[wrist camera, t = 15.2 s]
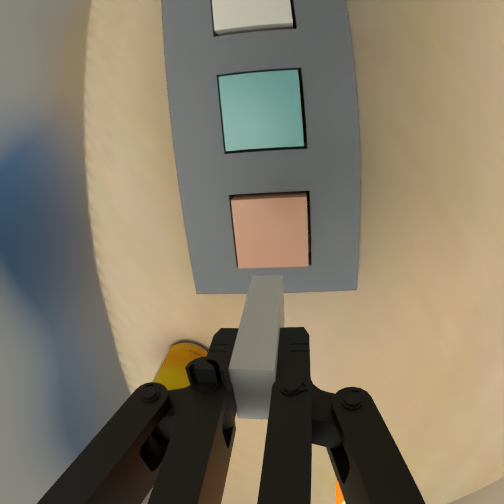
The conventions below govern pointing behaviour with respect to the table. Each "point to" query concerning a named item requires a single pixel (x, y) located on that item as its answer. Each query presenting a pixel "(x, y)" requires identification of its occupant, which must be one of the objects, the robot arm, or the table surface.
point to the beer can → (178, 365)
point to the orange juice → (339, 495)
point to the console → (266, 159)
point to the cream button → (251, 16)
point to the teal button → (261, 110)
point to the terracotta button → (271, 229)
